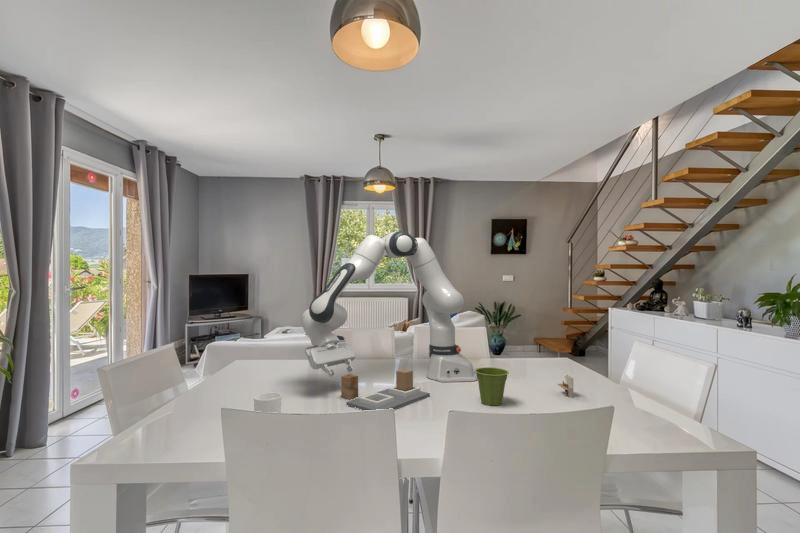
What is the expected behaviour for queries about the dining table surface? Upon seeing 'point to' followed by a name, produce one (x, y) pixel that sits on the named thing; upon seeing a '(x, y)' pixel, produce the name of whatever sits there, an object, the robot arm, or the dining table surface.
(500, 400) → the plant pot
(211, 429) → the dining table surface
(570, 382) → the architectural model
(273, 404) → the white cup
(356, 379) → the walnut block
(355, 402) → the baseplate
